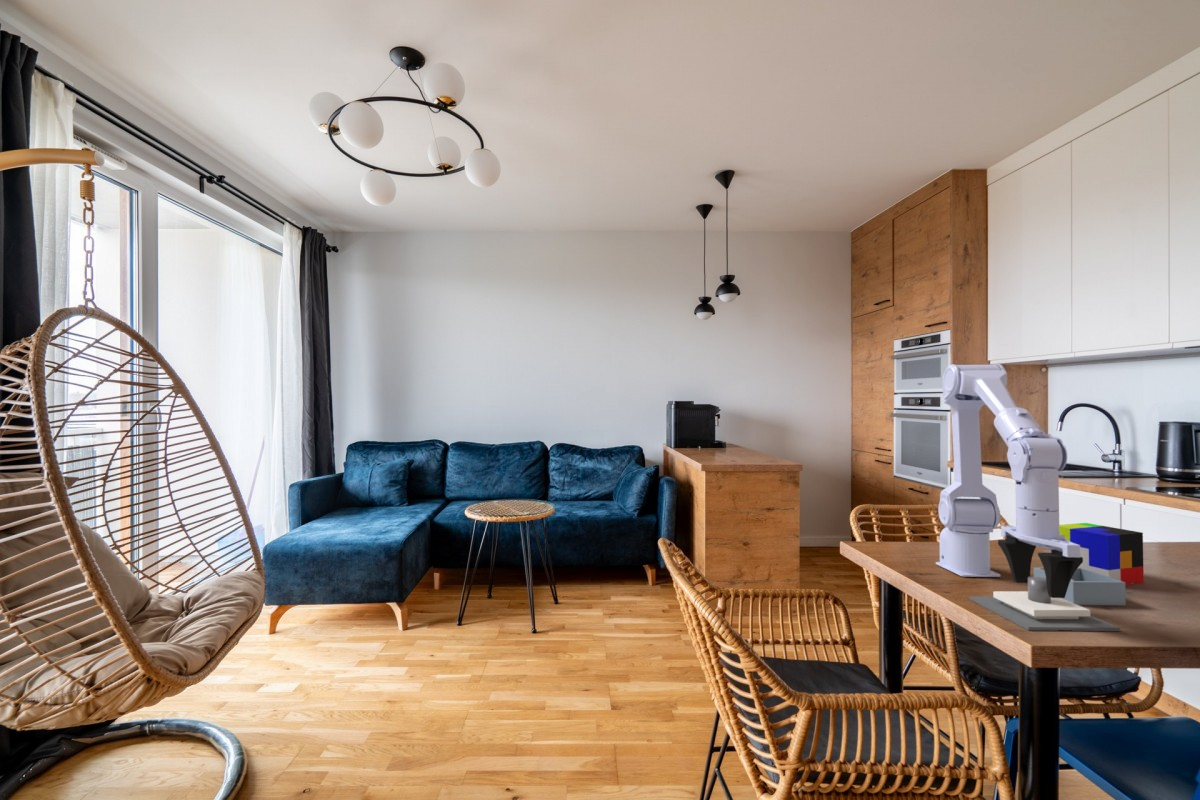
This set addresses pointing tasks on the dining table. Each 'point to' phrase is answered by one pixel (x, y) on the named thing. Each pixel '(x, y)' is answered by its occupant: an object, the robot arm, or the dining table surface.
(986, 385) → the robot arm
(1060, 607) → the lid
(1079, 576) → the storage box
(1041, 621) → the mat
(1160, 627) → the dining table surface
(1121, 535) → the puzzle toy
